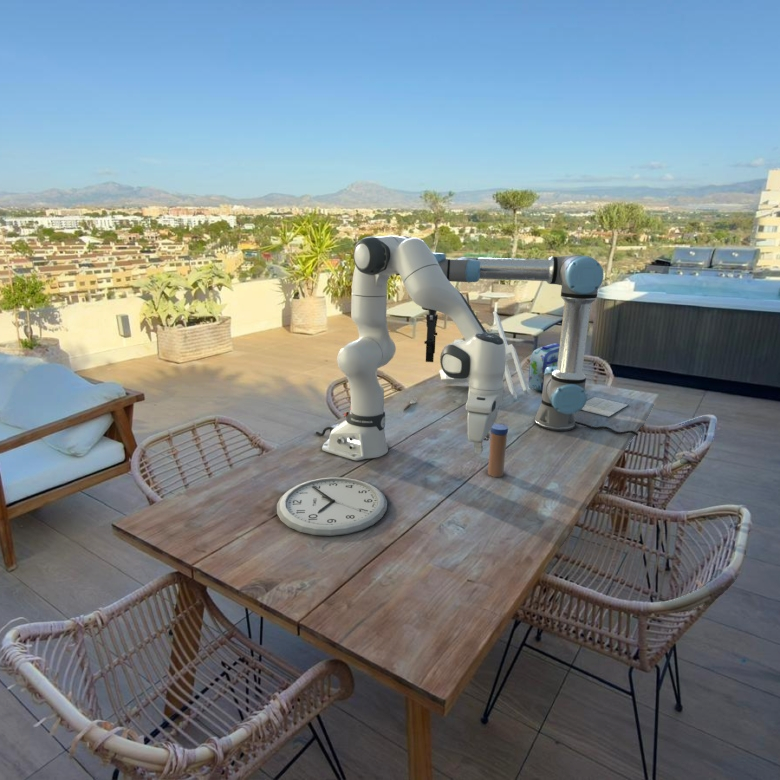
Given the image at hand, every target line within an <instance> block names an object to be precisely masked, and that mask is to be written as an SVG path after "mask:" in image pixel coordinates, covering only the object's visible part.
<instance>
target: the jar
mask: <svg viewBox="0 0 780 780" xmlns="http://www.w3.org/2000/svg"><path fill="white" fill-rule="evenodd" d="M507 438H508V433H507V434H505V435H496V434H493V433H491V432H490V439H489V452H488V465H487V475H488V476H490V477H492V478H493V477H494V478H502V477H503V476H504V473H505V462H506V452H507V451H506V450H507Z"/></svg>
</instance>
